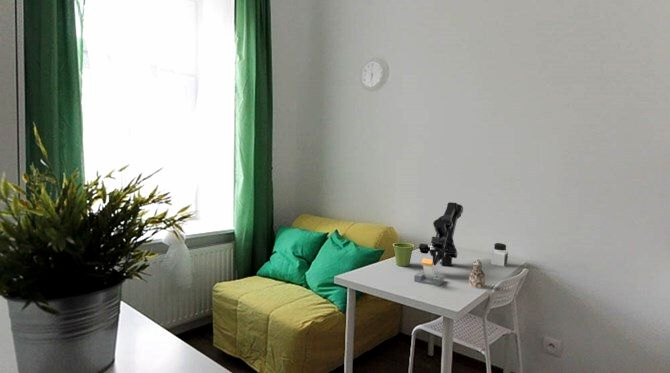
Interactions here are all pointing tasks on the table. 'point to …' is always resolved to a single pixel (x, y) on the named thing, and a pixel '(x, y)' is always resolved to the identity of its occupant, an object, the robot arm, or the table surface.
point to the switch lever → (428, 268)
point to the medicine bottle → (499, 255)
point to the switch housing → (429, 279)
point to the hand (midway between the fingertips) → (434, 264)
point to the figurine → (477, 276)
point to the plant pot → (403, 253)
